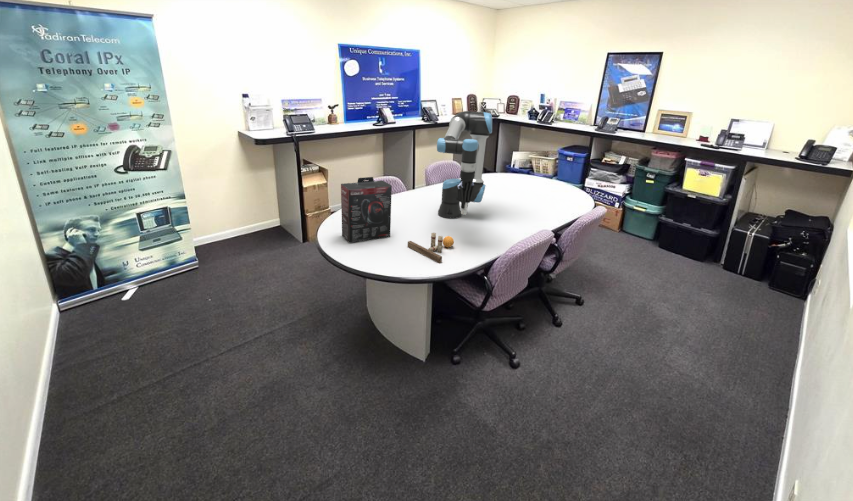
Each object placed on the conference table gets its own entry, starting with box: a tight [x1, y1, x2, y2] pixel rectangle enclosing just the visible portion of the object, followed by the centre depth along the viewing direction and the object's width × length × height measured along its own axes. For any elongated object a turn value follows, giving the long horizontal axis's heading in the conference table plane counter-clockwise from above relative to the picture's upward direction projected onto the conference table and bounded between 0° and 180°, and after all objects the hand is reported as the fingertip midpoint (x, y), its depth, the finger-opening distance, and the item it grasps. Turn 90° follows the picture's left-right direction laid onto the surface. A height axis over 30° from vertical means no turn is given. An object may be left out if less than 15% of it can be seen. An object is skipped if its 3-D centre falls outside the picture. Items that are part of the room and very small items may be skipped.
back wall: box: [407, 240, 443, 264], centre depth 211 cm, size 2×24×3 cm, turn 42°
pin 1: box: [430, 232, 437, 248], centre depth 217 cm, size 2×2×8 cm
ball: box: [442, 235, 455, 248], centre depth 220 cm, size 6×6×6 cm
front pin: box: [427, 244, 444, 253], centre depth 216 cm, size 2×2×8 cm
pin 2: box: [436, 235, 444, 254], centre depth 213 cm, size 2×2×8 cm
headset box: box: [340, 176, 393, 244], centre depth 222 cm, size 25×12×33 cm, turn 120°
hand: (463, 213), depth 222 cm, fingers closed
